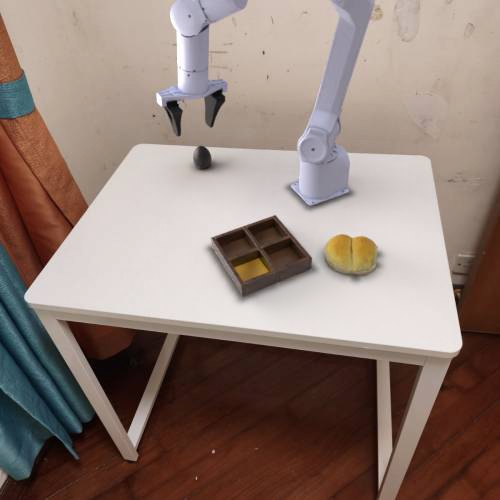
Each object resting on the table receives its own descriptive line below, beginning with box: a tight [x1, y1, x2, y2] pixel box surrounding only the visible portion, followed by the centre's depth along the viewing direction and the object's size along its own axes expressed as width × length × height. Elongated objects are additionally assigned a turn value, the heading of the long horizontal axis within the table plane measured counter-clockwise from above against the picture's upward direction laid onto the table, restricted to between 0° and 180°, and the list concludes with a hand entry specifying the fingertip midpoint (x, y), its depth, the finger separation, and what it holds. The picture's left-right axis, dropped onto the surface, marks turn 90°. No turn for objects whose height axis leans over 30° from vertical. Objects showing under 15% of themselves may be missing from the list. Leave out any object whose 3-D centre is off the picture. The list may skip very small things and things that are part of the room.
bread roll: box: [323, 233, 379, 275], centre depth 76 cm, size 8×9×4 cm
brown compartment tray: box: [210, 214, 313, 297], centre depth 78 cm, size 13×13×3 cm
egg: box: [192, 145, 212, 170], centre depth 100 cm, size 4×4×5 cm
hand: (193, 129), depth 93 cm, fingers open, 7 cm apart
